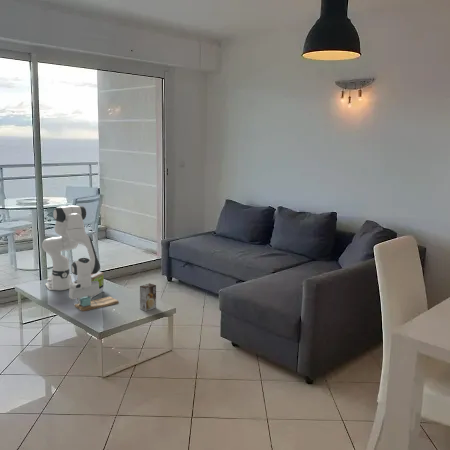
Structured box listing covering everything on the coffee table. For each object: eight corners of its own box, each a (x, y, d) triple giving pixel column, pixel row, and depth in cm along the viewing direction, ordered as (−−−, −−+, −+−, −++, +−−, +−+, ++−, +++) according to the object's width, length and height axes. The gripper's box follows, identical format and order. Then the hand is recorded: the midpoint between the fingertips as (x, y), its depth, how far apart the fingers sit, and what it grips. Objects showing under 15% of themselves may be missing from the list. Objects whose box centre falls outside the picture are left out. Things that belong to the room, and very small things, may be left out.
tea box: (94, 297, 323) (94, 277, 320) (81, 296, 324) (80, 276, 322) (104, 291, 337) (103, 271, 335) (91, 289, 339) (91, 270, 336)
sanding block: (79, 304, 302) (79, 297, 302) (86, 303, 306) (86, 296, 305) (83, 307, 298) (83, 299, 297) (90, 305, 302) (90, 298, 301)
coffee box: (149, 305, 310) (149, 283, 308) (156, 307, 307) (156, 285, 304) (139, 309, 303) (139, 285, 300) (146, 311, 299) (146, 288, 297)
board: (74, 306, 304) (74, 304, 303) (109, 298, 321) (109, 296, 321) (83, 311, 295) (83, 309, 295) (118, 303, 313) (118, 300, 313)
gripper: (96, 278, 309) (96, 298, 311) (67, 284, 295) (68, 304, 297) (101, 281, 304) (101, 300, 307) (72, 286, 290) (72, 307, 293)
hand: (84, 302), depth 302 cm, fingers closed on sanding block, 5 cm apart
